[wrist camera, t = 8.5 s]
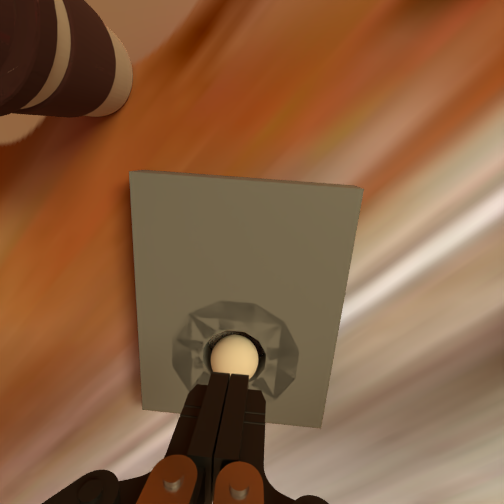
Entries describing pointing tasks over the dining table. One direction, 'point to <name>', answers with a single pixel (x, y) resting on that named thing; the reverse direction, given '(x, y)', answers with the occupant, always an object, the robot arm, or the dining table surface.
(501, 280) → the dining table surface
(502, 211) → the dining table surface
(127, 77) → the coffee cup
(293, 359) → the grey flat block
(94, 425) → the dining table surface
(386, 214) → the dining table surface
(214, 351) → the ball
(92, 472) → the robot arm
